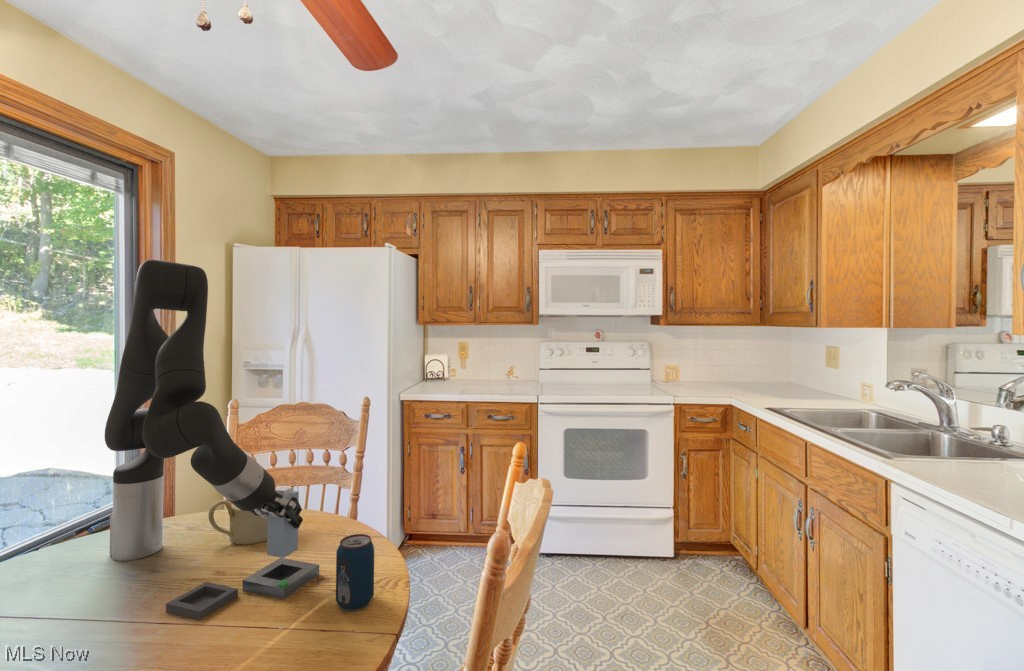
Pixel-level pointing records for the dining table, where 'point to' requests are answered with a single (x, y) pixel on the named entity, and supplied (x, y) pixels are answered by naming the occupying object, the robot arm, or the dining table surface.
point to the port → (280, 578)
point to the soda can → (354, 572)
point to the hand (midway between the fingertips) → (290, 522)
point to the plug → (282, 530)
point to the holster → (202, 600)
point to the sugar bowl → (241, 524)
